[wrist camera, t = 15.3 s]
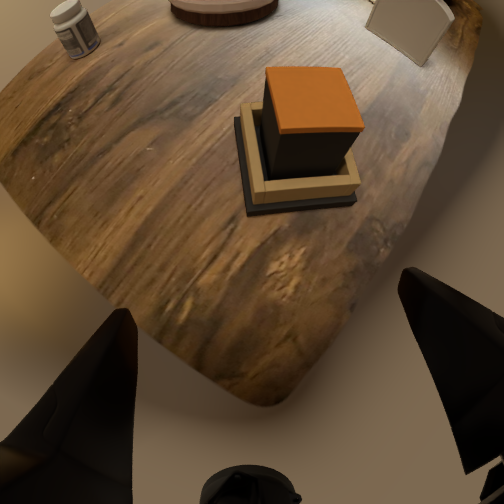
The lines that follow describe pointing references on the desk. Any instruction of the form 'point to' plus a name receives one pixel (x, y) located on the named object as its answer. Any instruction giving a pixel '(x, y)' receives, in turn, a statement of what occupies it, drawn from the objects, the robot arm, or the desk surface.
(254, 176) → the base pad
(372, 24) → the gravestone
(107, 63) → the desk surface
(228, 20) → the mug
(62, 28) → the pill bottle
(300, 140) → the orange rectangular block
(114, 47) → the desk surface
